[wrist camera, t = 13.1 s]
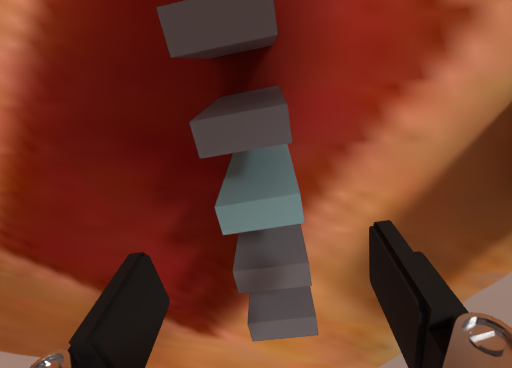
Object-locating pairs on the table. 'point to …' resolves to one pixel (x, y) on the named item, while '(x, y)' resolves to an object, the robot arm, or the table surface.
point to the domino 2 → (242, 123)
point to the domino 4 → (271, 260)
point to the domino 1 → (217, 27)
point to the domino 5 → (282, 314)
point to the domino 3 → (259, 191)
